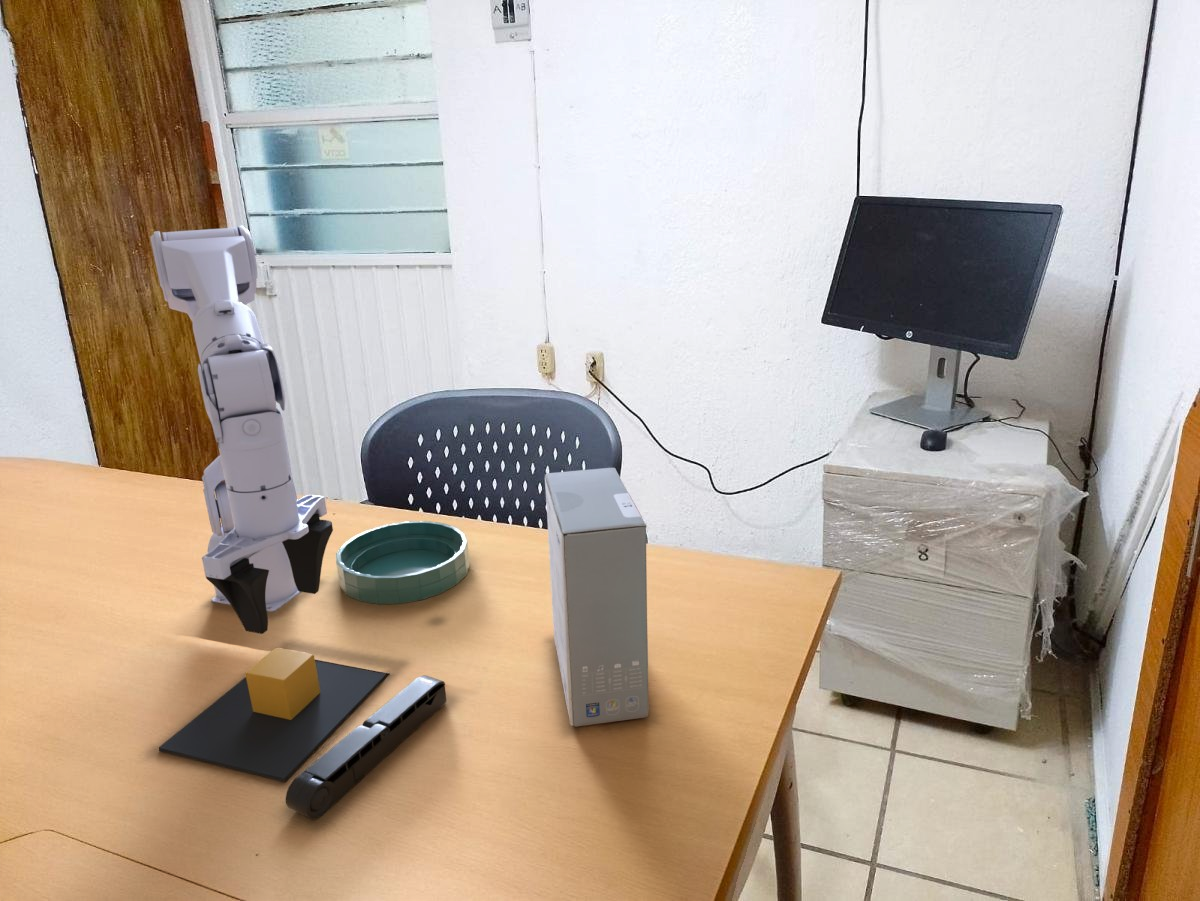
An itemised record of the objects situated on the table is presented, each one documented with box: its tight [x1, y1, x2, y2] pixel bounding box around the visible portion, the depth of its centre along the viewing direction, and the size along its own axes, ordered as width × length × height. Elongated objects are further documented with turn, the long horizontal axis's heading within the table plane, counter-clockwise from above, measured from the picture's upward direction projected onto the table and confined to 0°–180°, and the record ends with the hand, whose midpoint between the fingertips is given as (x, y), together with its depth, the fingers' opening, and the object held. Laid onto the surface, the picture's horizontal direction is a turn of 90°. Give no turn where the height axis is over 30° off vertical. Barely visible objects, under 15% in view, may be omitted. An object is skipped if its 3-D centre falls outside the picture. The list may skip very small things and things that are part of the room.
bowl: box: [335, 520, 471, 605], centre depth 106 cm, size 16×16×4 cm
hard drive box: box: [544, 467, 649, 728], centre depth 81 cm, size 16×8×20 cm, turn 9°
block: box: [244, 647, 320, 720], centre depth 81 cm, size 4×4×4 cm
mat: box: [158, 659, 390, 783], centre depth 82 cm, size 14×18×1 cm
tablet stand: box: [285, 675, 447, 820], centre depth 74 cm, size 18×3×3 cm, turn 152°
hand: (283, 610), depth 81 cm, fingers open, 7 cm apart
